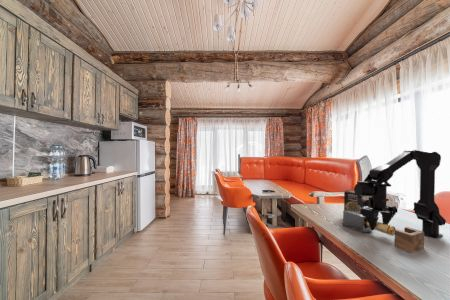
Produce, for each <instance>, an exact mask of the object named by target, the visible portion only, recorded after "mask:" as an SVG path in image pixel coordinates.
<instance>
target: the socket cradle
mask: <svg viewBox="0 0 450 300" xmlns="http://www.w3.org/2000/svg"><path fill="white" fill-rule="evenodd" d="M403 229H404V230H402V229H401V230H400V229H396V230H395V235H394V247H396V248H399V249H401V250H403V251H406V252H409V253H412V254H413V253H415V252H418V251H421V250H423V249H425V235H424V232H423V231H422V230H420V229H416V228H413V227H408V226H405V227H404V228H403Z"/></svg>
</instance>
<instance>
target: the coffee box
mask: <svg viewBox="0 0 450 300" xmlns="http://www.w3.org/2000/svg"><path fill="white" fill-rule="evenodd" d="M343 192H344V194H343V198H344V199H343V204H344V205H343V211H345V210H350V209H353V210H356V211H359V212H360V209H362V208H365V207H360V206H359V205H358V204H357V203H358V199H364V200H365V196H357V195H356V194H355V192H354V190H351V189H350V190H348V189H347V190H344V191H343Z"/></svg>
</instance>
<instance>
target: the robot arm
mask: <svg viewBox="0 0 450 300" xmlns="http://www.w3.org/2000/svg"><path fill="white" fill-rule="evenodd" d="M413 160H415V163H416V166H417V167H418V168H419V170H420V173H419V174H420V177H419V199H418V201H417V202H416V201H414V202H413V211H414V214H415V215H416V218H417V219H418V220H421V221H422V223H421V225H422V226H421V227H422V229H421V231H423V232H424V236H428V237H431V238H434V239H438V238H441V237H443V236H444V234H442V233H440V226H444V225H446V222H447V220H446V218H444V216H442V215H441V214H440V213H441V212H440V208H439V206H438V204H437V203H436V201H435V188H436V185H435V182H436V177H435V176H436V171H437V169H438V168H439V166H441V165H440V164H441V161H442V155H441V153H439V152H438V151H426V150H425V151H422V150H417V149H405V150H404V151H403V152H402V153H400V154H398V155H397V156H395V157H394V158H393V159H391V160H389V161H388V162H387V163H385V164H383V165H378V166H376V167H374V168H371V169H370V170H369V173H368V174H367V176H366V177H365V179H364V180H363V181H360V180H359V181H356V184H355V186H354V187H353V191H354V192H355V194H356V195H357V196H364V197H368V199H365V198H364V199H358V203H357V204H358V205H359V206H360V207H364V208H362V209H360V214H362V215H363V216H365V217H366V218H367V220H368V223H369V225H370V228H371V230H372V231H375V230H374V229H375V227H376V224H377V222H379V215H381V218H382V223H383V224H386V225H390V222H391V221H392V219H393V218H394V216H395V215H396V213H398V207H396V205H392V204H388V203H387V202H389V201H390V200H389V198H387V197H388V196H387V193H388V191H387V188H388V187H389V188H390V187H392V184H390V182H388V181H389V180H390V179H392V178H393V176H394V173H395V172H397V171H398V170H399V169H401V168H403V167H404V166H406V165H407V164H409V163H410V162H412V161H413ZM379 213H380V214H379Z"/></svg>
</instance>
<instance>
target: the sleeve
mask: <svg viewBox="0 0 450 300" xmlns="http://www.w3.org/2000/svg"><path fill="white" fill-rule="evenodd" d="M342 213H343V214H342V215H343V216H342V217H343V219H342V220H343V221H342V222H343V223H342V225H343V226H344V227H346V228H349V229H352V230H354V231H357V232H360V233H363V234H365V233H369V232H372V231H373V230H371V228H369V227H366V226H365V219H366V217H365V216H363V215H362V214H360V212H359V211H356V210H353V209H350V210H345V211H344V210H343V211H342Z"/></svg>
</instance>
